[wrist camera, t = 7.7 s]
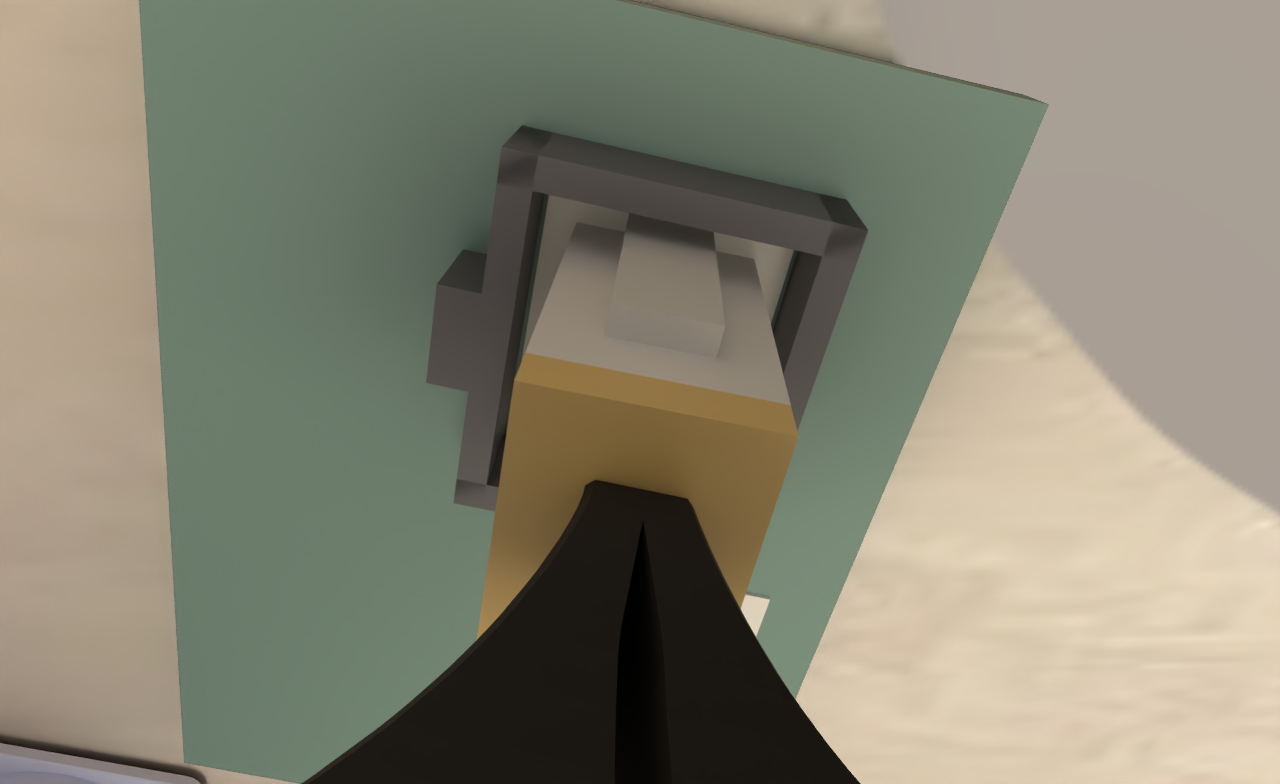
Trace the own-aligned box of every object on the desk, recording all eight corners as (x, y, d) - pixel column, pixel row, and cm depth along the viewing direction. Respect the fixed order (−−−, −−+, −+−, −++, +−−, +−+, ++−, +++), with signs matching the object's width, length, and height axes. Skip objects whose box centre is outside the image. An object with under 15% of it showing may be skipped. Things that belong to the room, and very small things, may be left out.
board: (725, 822, 26) (730, 928, 23) (205, 728, 25) (144, 827, 22) (1024, 94, 16) (1099, 124, 13) (170, -111, 15) (51, -128, 12)
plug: (701, 452, 18) (711, 695, 12) (543, 422, 18) (474, 653, 12) (760, 234, 16) (810, 401, 10) (581, 196, 16) (519, 343, 10)
